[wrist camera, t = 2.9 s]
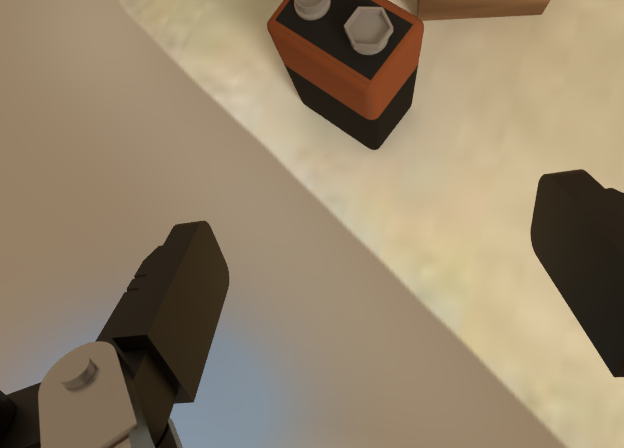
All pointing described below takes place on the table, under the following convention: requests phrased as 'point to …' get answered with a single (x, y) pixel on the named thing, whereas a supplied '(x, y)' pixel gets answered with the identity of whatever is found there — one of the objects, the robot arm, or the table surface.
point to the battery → (351, 61)
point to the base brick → (478, 8)
